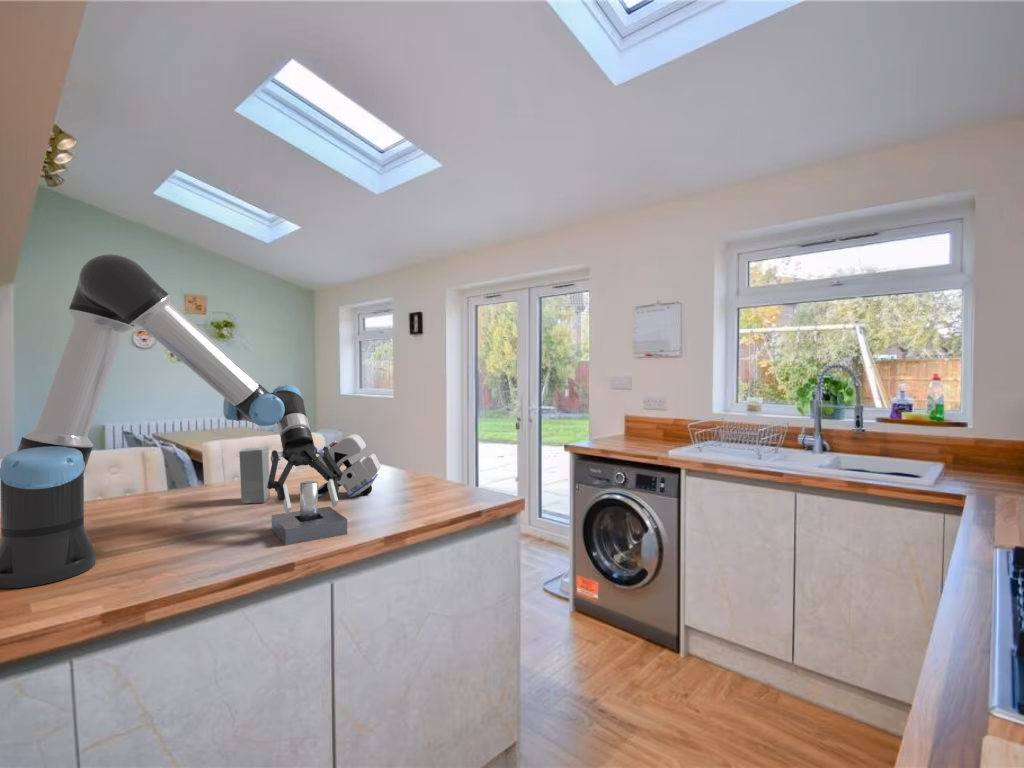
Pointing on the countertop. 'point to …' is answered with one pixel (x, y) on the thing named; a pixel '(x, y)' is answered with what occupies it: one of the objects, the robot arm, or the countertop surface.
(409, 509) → the countertop surface
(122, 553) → the countertop surface
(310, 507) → the grey black cylinder
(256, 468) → the product box
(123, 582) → the countertop surface
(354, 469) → the robotic device
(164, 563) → the countertop surface
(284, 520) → the chuck block
